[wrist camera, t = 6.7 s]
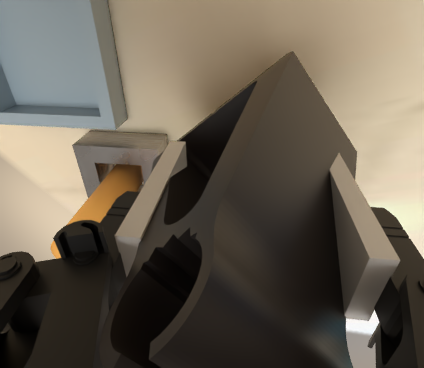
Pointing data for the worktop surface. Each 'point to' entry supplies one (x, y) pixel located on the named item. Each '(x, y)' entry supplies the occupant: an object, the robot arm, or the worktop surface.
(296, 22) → the worktop surface
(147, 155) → the pin socket
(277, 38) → the worktop surface
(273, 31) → the worktop surface
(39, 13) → the tray
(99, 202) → the pin
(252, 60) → the worktop surface
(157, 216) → the phone stand
